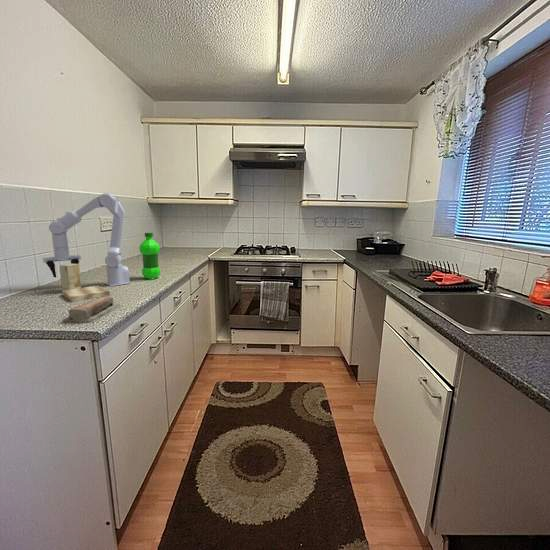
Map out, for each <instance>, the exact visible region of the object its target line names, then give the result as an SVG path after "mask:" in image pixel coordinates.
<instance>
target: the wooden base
mask: <svg viewBox="0 0 550 550" xmlns="http://www.w3.org/2000/svg"><path fill="white" fill-rule="evenodd" d="M62 296H63V297H65V299H67V298H68V299H67V300H69V301H70V302H72V303H73V302H74V301H75V302H79V301H80V300H81V301H86V300H92V299H96V297H98V298H99V297H102V296H103V297H105V296H109V297H110V290H108V289H106V288H104V287H102V286H100V285H92V286H86V287H81V288H78V289H71V290H64V291H62ZM91 298H92V299H91Z"/></svg>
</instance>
